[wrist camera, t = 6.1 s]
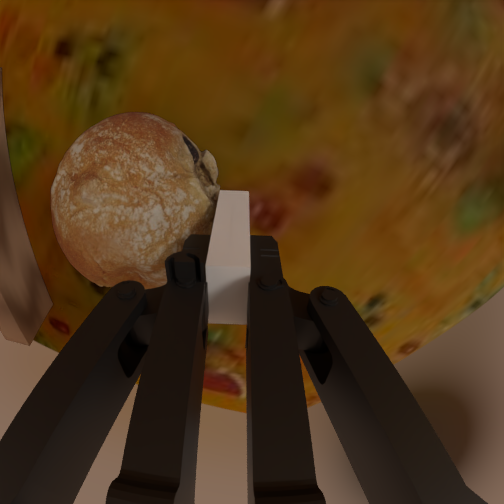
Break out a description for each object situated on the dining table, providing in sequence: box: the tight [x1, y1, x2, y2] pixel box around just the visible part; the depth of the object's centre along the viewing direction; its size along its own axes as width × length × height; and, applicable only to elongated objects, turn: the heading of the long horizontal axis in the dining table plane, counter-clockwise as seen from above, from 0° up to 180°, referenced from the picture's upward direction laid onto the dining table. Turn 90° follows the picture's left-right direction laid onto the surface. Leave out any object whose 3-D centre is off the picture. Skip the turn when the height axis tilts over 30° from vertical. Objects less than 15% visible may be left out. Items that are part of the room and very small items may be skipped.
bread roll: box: [51, 112, 220, 289], centre depth 15 cm, size 10×10×8 cm
